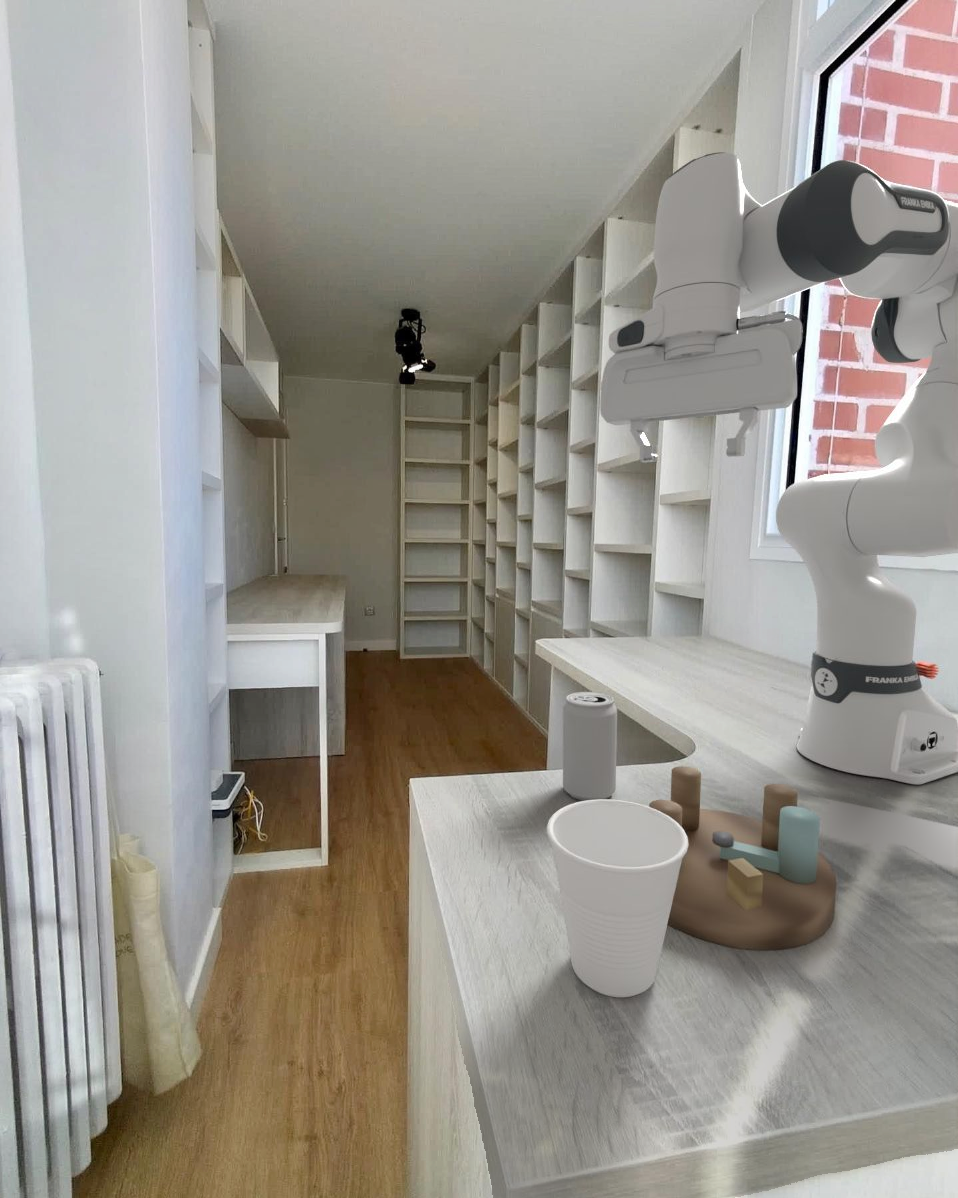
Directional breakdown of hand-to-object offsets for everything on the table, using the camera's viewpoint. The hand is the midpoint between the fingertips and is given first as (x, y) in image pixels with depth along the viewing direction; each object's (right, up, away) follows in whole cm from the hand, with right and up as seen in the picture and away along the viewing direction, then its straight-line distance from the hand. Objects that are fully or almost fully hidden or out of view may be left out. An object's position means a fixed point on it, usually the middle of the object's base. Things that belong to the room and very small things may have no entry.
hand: (690, 459), depth 66 cm
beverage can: (-10, -39, +7) cm, 41 cm away
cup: (-13, -43, -22) cm, 50 cm away
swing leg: (+2, -39, -13) cm, 41 cm away
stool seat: (-1, -41, -11) cm, 43 cm away
